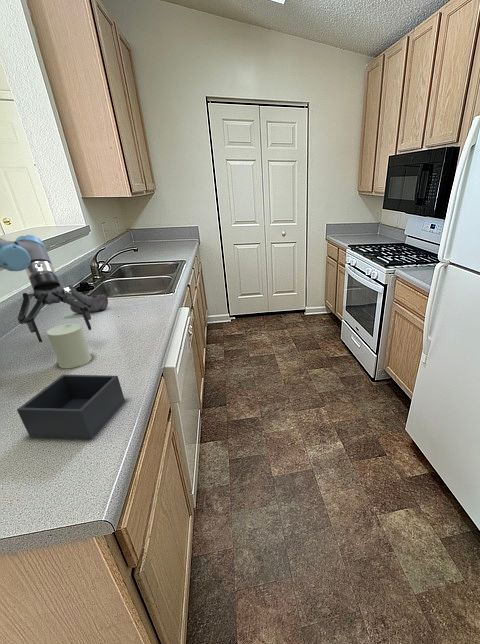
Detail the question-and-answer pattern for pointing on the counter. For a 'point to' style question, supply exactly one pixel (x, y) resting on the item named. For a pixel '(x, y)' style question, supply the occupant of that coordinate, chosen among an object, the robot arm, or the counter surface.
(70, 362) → the can
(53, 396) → the open box
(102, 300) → the perforated stone tool
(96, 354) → the counter surface
